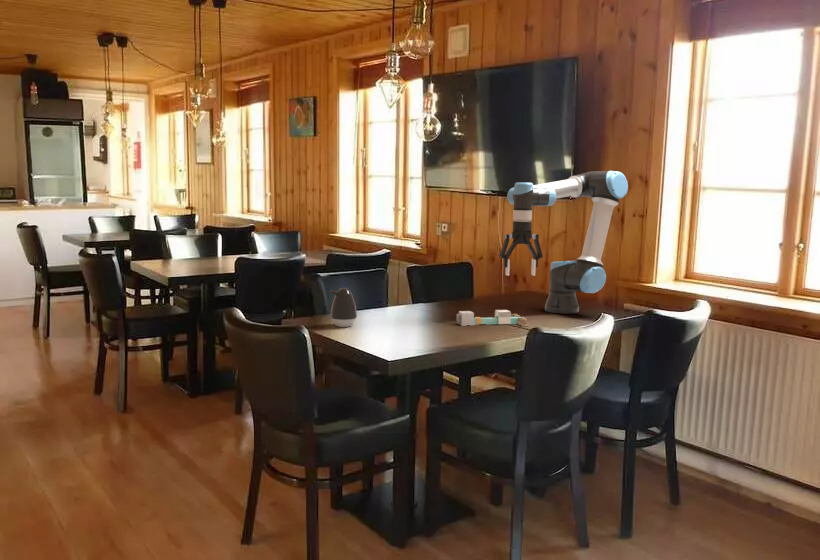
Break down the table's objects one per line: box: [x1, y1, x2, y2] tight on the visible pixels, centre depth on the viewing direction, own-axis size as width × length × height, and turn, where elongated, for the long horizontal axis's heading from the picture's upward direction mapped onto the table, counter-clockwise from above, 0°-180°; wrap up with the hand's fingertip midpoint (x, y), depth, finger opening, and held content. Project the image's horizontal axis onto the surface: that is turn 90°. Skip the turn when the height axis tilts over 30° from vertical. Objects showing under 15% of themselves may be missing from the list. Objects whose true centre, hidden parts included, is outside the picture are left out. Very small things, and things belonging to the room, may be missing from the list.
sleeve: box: [494, 309, 512, 325], centre depth 290 cm, size 5×5×5 cm
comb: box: [511, 313, 529, 327], centre depth 292 cm, size 2×14×3 cm, turn 11°
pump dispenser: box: [330, 287, 358, 328], centre depth 279 cm, size 10×10×15 cm
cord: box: [456, 310, 518, 327], centre depth 289 cm, size 27×5×5 cm, turn 101°
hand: (520, 275), depth 290 cm, fingers open, 10 cm apart
